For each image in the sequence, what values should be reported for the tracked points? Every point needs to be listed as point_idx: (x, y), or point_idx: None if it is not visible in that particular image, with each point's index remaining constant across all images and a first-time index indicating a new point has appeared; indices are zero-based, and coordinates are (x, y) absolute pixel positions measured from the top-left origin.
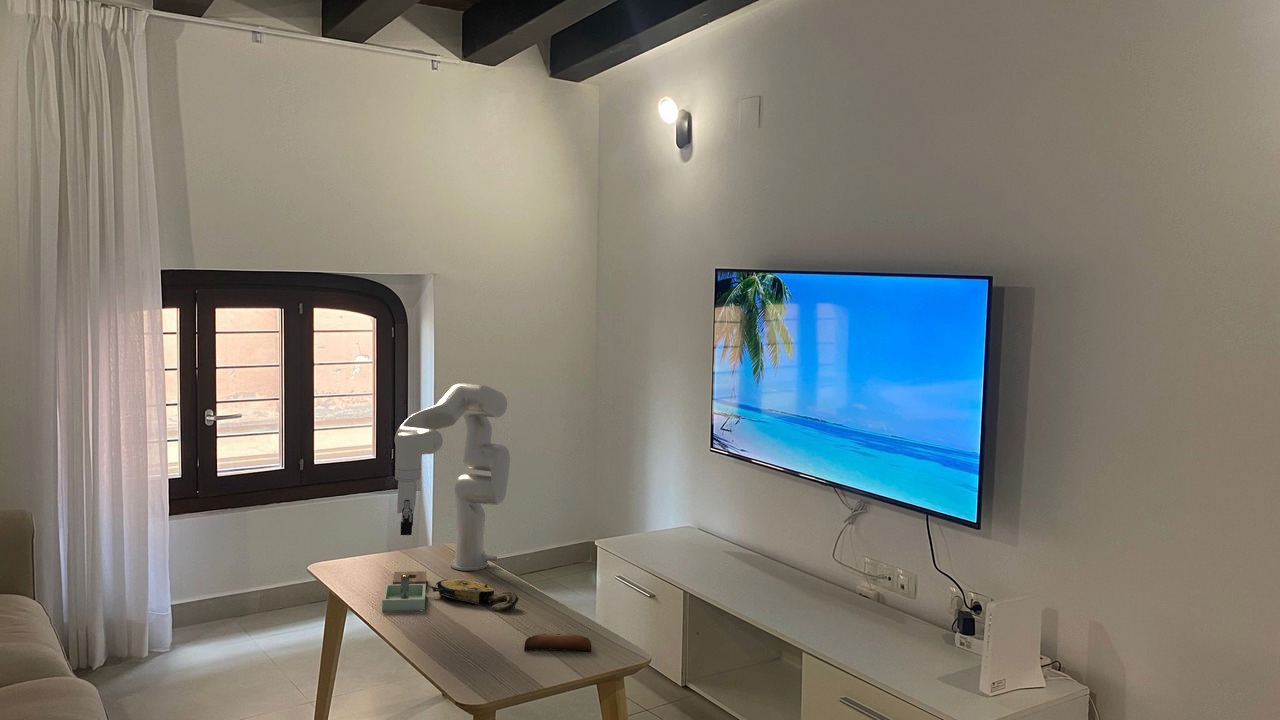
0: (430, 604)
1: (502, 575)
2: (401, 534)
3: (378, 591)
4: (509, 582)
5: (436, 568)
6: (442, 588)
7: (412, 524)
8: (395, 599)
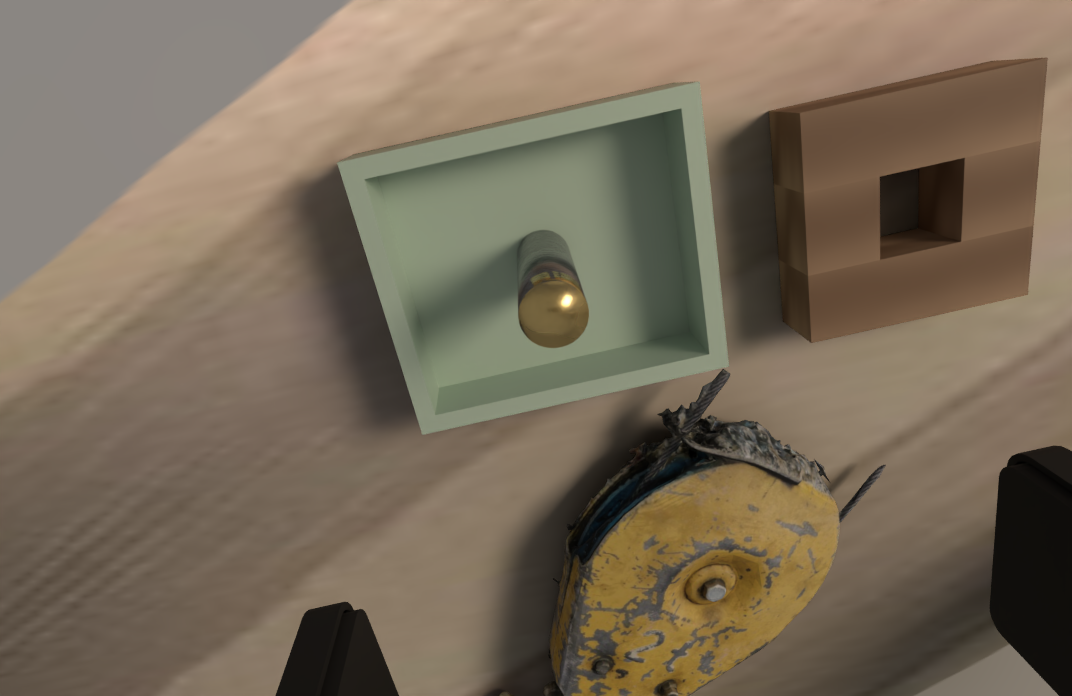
0: None
1: None
2: (309, 627)
3: (765, 3)
4: (908, 674)
5: None
6: (662, 474)
7: (1020, 642)
8: (373, 253)
